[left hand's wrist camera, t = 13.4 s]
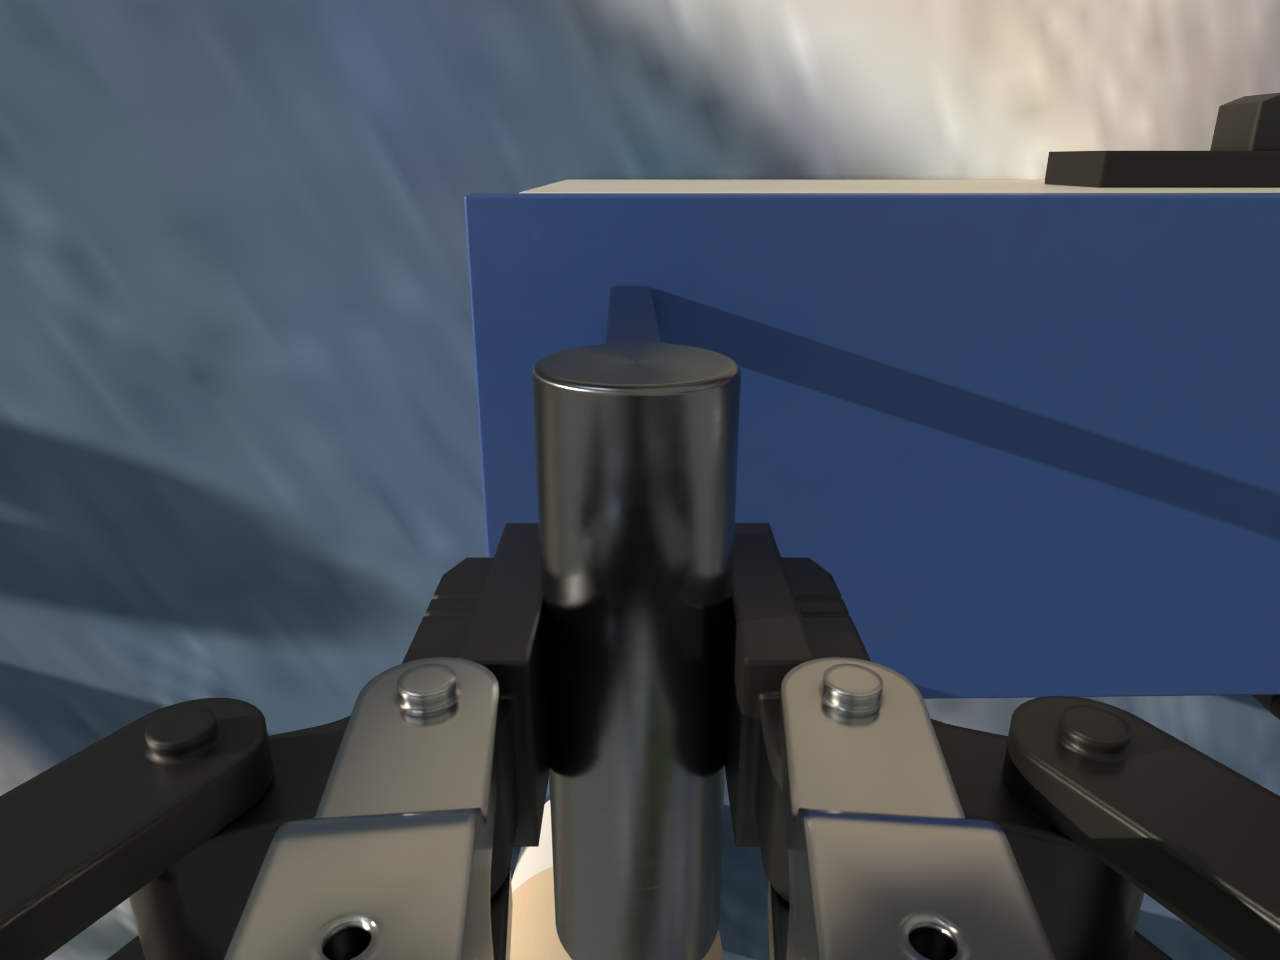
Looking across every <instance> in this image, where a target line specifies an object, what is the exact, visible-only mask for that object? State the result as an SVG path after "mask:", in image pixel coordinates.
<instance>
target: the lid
mask: <svg viewBox="0 0 1280 960" xmlns="http://www.w3.org/2000/svg"><path fill="white" fill-rule="evenodd" d="M464 206H465V221H466V237H467V252H468V267H469V283H470V298H471V313H472V329H473V344H474V359H475V374H476V390H477V405H478V420H479V436H480V451H481V466H482V482H483V497H484V512H485V527H486V543H487V558H494V556H495V553H496V550H497V547H498V545H499V542H500V539H501V536H502V534H503V531H504V528H505V525H506V524H507V523H538V528H539V551H540V575H541V593H542V597H543V613H544V637H545V660H546V684H547V708H548V731H549V755H550V771H549V784H550V807H551V831H552V854H553V877H554V901H555V923H556V930H557V934H558V937H559V940H560V942H561V944H562V946H563V948H564V949H565V951H566V952H567V954H568V955H569V956H570V958H571V959H572V960H702V959H703V958H704V957H705V955H706V954H707V952H708V951H709V950H710V948H711V947H712V945H713V942H714V940H715V938H716V935H717V931H718V925H719V910H720V885H721V860H722V835H723V810H724V785H725V740H726V715H727V690H728V665H729V639H730V614H731V594H732V585H733V560H734V536H735V523H769V524H770V527H771V530H772V533H773V536H774V538H775V541H776V544H777V547H778V550H779V553H780V556H781V557H809V558H810V559H811V560H813V561H814V562H815V563H817V564H818V565H819V566H821V567H822V568H823V569H825V570H826V571H827V572H829V573H830V574H831V575H832V576H833V578H834V580H835V583H836V585H837V587H838V589H839V591H840V594H841V599H843V600H844V602H845V605H846V607H847V609H848V611H849V616H851V618H852V620H853V622H854V625H855V627H856V629H857V631H858V633H859V636H860V638H861V640H862V642H863V644H864V647H865V649H866V651H867V653H868V655H869V658H870V660H871V662H874V663H877V664H880V665H883V666H885V667H888V668H890V669H892V670H894V671H896V672H898V673H900V674H901V675H903V676H904V677H906V678H907V679H908V680H909V681H911V682H912V683H913V684H914V685H915V686H916V688H917V689H918V690H919V691H920V693H921V695H922V697H923V699H931V698H1017V697H1047V696H1071V697H1103V696H1189V695H1275V694H1280V193H474V194H470V195H467V196H465V197H464Z"/></svg>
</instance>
